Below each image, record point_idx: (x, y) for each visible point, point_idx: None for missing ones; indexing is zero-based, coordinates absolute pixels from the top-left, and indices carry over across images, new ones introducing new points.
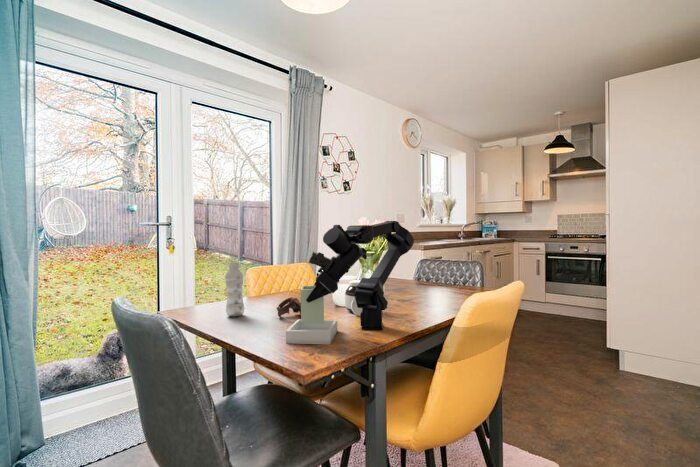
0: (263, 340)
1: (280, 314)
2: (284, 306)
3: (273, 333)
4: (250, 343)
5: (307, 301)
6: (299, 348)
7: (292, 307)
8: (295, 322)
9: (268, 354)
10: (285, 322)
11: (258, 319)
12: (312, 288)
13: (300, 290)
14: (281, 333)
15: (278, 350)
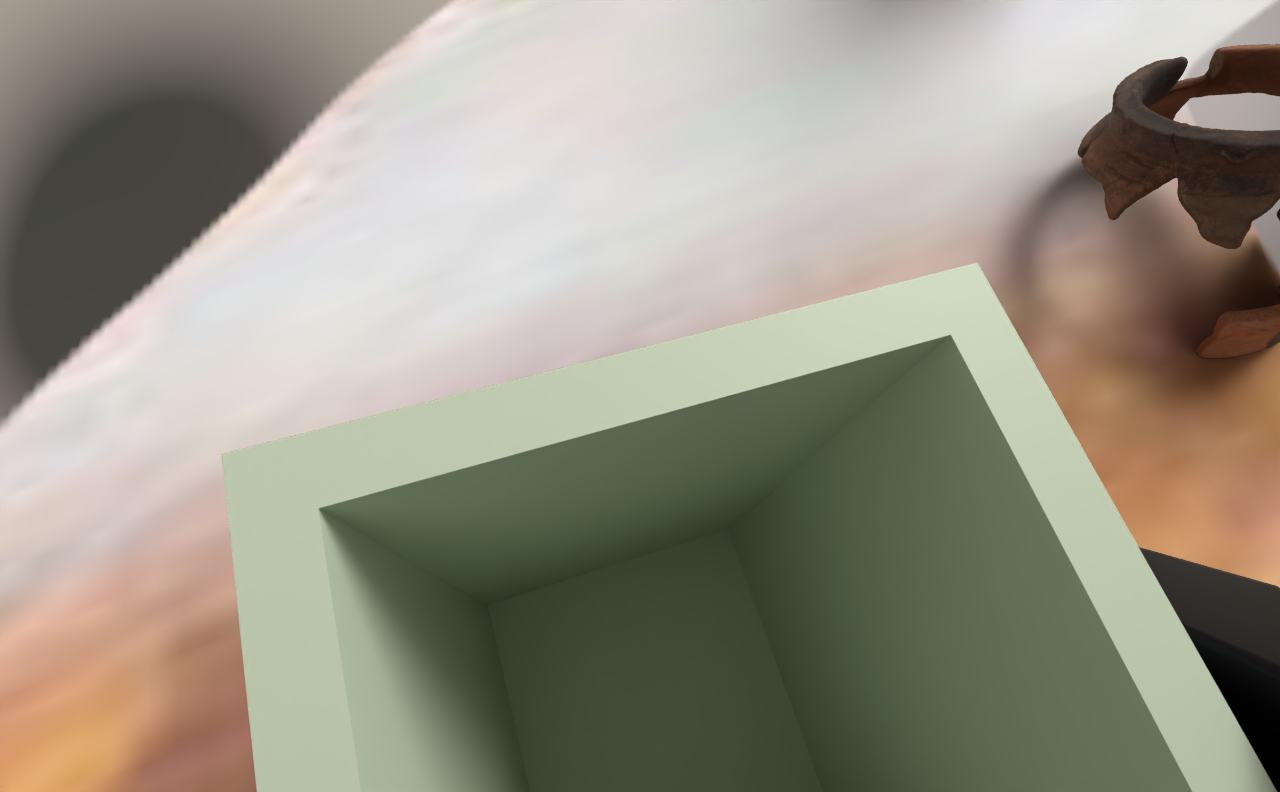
0: (463, 257)
1: (1082, 146)
2: (1159, 121)
3: (665, 263)
4: (377, 194)
5: None
6: (236, 673)
7: (1197, 202)
8: None
9: (75, 439)
10: (1002, 243)
11: (998, 25)
12: (1051, 646)
13: (240, 462)
14: (679, 327)
15: (183, 485)
